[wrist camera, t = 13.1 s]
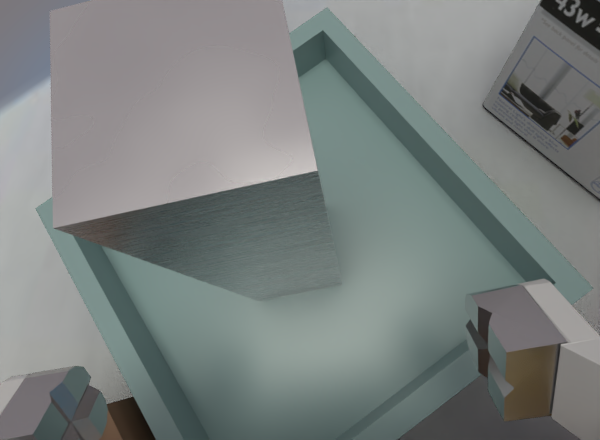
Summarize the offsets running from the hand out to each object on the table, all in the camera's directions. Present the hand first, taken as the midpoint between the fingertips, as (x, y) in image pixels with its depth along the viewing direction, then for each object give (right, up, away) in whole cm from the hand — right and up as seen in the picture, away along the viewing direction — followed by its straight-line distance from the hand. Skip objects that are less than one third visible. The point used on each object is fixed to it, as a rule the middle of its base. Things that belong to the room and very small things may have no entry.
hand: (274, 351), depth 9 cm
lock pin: (0, +1, +8) cm, 8 cm away
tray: (0, +1, +9) cm, 9 cm away
